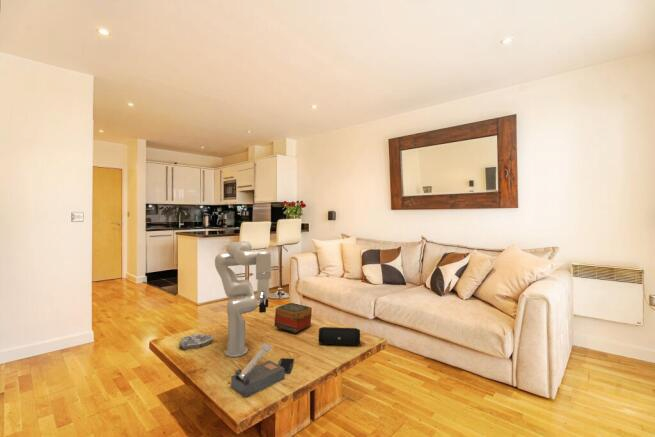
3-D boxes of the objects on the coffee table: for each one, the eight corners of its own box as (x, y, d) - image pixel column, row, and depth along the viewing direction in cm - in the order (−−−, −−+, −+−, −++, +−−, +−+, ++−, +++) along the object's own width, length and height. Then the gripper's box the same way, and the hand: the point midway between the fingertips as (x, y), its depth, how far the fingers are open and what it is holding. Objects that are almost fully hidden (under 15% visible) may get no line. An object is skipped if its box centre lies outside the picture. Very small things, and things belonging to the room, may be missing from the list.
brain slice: (205, 336, 202) (205, 331, 202) (216, 343, 190) (216, 339, 190) (173, 344, 188) (173, 339, 188) (183, 353, 176) (183, 348, 176)
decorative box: (271, 330, 214) (271, 308, 212) (292, 319, 232) (292, 298, 230) (294, 339, 203) (294, 315, 201) (314, 326, 221) (314, 304, 219)
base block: (245, 397, 134) (245, 379, 134) (231, 387, 142) (231, 369, 142) (284, 378, 150) (284, 362, 150) (269, 369, 158) (269, 354, 158)
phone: (275, 372, 155) (280, 358, 170) (275, 374, 155) (280, 360, 170) (290, 372, 155) (294, 358, 170) (290, 374, 155) (294, 360, 170)
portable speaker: (318, 346, 188) (318, 330, 188) (319, 340, 198) (319, 324, 197) (360, 348, 186) (360, 331, 186) (359, 341, 196) (359, 325, 196)
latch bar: (244, 381, 137) (242, 378, 137) (238, 377, 141) (236, 374, 140) (272, 347, 149) (270, 344, 148) (265, 344, 152) (264, 341, 151)
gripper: (258, 273, 164) (258, 305, 163) (253, 279, 147) (253, 315, 146) (272, 273, 164) (273, 305, 164) (269, 278, 147) (269, 314, 147)
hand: (263, 309), depth 155 cm, fingers open, 9 cm apart
